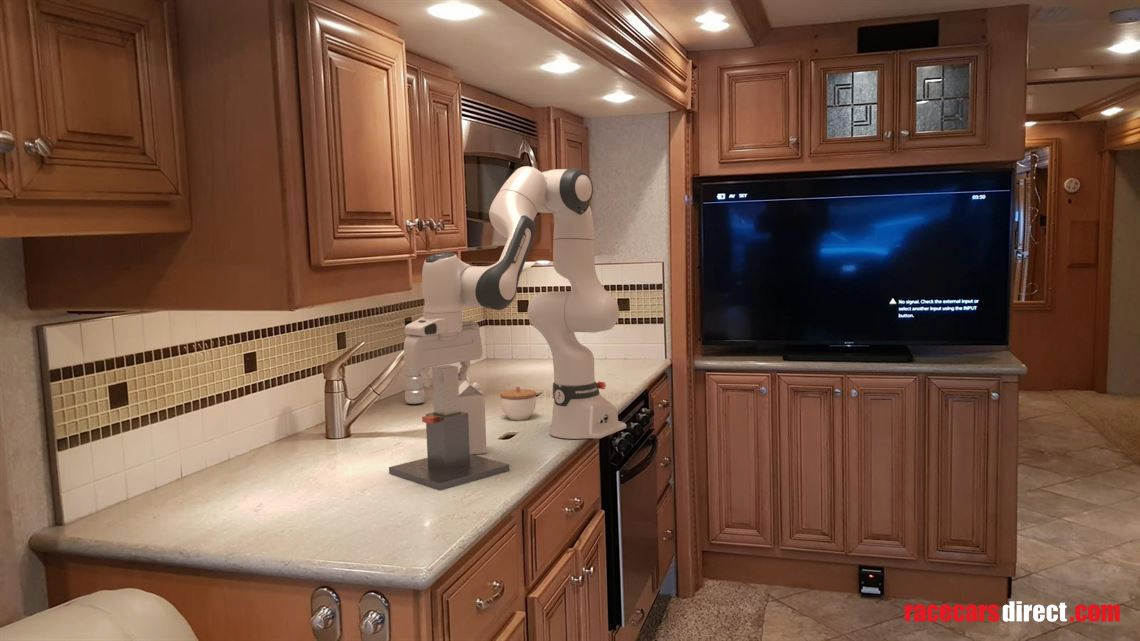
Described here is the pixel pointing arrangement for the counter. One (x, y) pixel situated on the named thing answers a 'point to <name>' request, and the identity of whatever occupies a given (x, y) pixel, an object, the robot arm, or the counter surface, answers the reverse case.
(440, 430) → the jack base
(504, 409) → the lidded jar
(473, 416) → the milk carton
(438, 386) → the block
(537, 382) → the counter surface
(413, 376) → the plastic bottle
